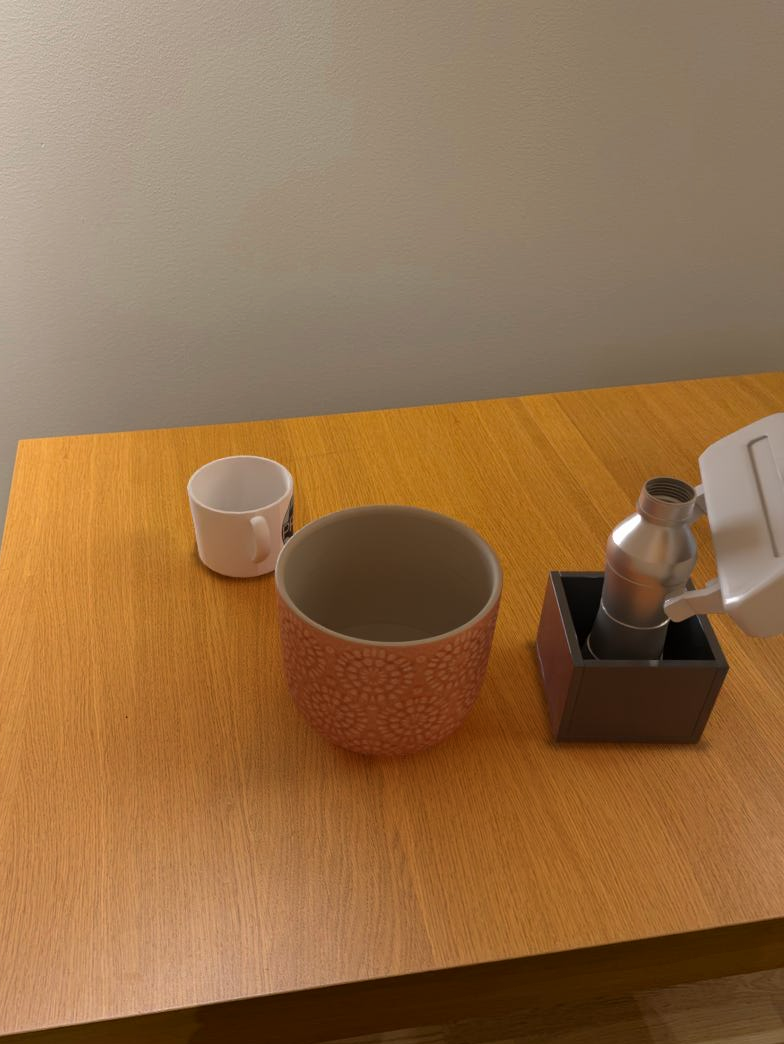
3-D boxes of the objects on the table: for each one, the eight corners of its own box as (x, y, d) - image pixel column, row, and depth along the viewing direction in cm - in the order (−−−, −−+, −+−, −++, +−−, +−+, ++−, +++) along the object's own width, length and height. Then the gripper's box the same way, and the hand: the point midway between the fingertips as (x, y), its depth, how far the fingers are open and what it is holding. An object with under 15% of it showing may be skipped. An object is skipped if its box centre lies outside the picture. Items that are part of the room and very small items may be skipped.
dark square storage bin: (663, 646, 84) (688, 570, 78) (698, 743, 75) (729, 667, 69) (534, 646, 84) (549, 570, 78) (555, 742, 76) (574, 666, 70)
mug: (185, 531, 98) (176, 466, 93) (279, 511, 101) (276, 447, 95) (216, 608, 89) (208, 541, 84) (318, 585, 91) (317, 518, 86)
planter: (443, 627, 86) (458, 490, 76) (511, 764, 74) (540, 623, 64) (266, 656, 84) (256, 520, 74) (306, 803, 72) (300, 664, 61)
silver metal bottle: (630, 727, 76) (695, 529, 62) (558, 688, 79) (604, 492, 65) (667, 684, 79) (736, 488, 65) (597, 649, 82) (648, 455, 69)
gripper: (798, 368, 68) (633, 469, 77) (857, 530, 54) (646, 632, 62) (841, 427, 71) (676, 518, 79) (908, 597, 56) (698, 687, 64)
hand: (663, 570), depth 70 cm, fingers open, 8 cm apart
